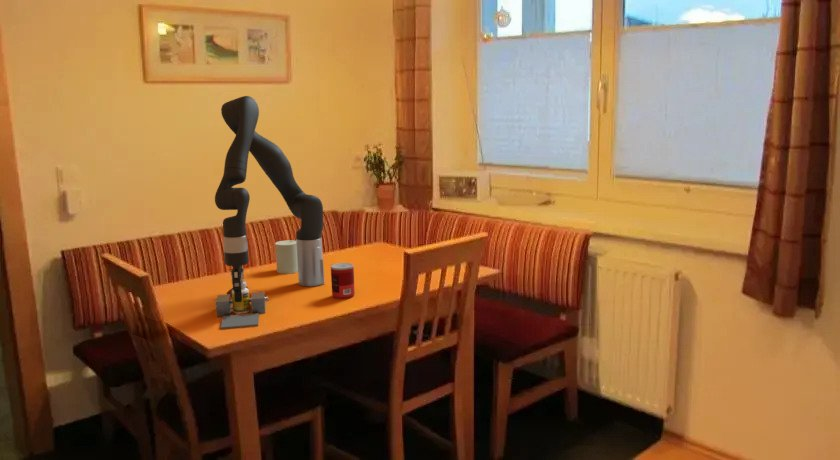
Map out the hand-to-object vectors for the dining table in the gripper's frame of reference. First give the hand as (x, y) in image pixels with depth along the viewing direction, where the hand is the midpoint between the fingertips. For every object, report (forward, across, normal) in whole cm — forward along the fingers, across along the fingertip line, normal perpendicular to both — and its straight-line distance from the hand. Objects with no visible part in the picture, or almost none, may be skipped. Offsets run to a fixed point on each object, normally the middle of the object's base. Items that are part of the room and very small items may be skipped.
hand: (239, 298), depth 229 cm
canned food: (+4, +8, -34) cm, 36 cm away
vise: (+5, +1, 0) cm, 5 cm away
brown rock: (+5, +15, +2) cm, 16 cm away
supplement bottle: (+5, 0, 0) cm, 5 cm away
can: (+4, +50, -16) cm, 53 cm away
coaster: (+5, -11, -1) cm, 12 cm away
